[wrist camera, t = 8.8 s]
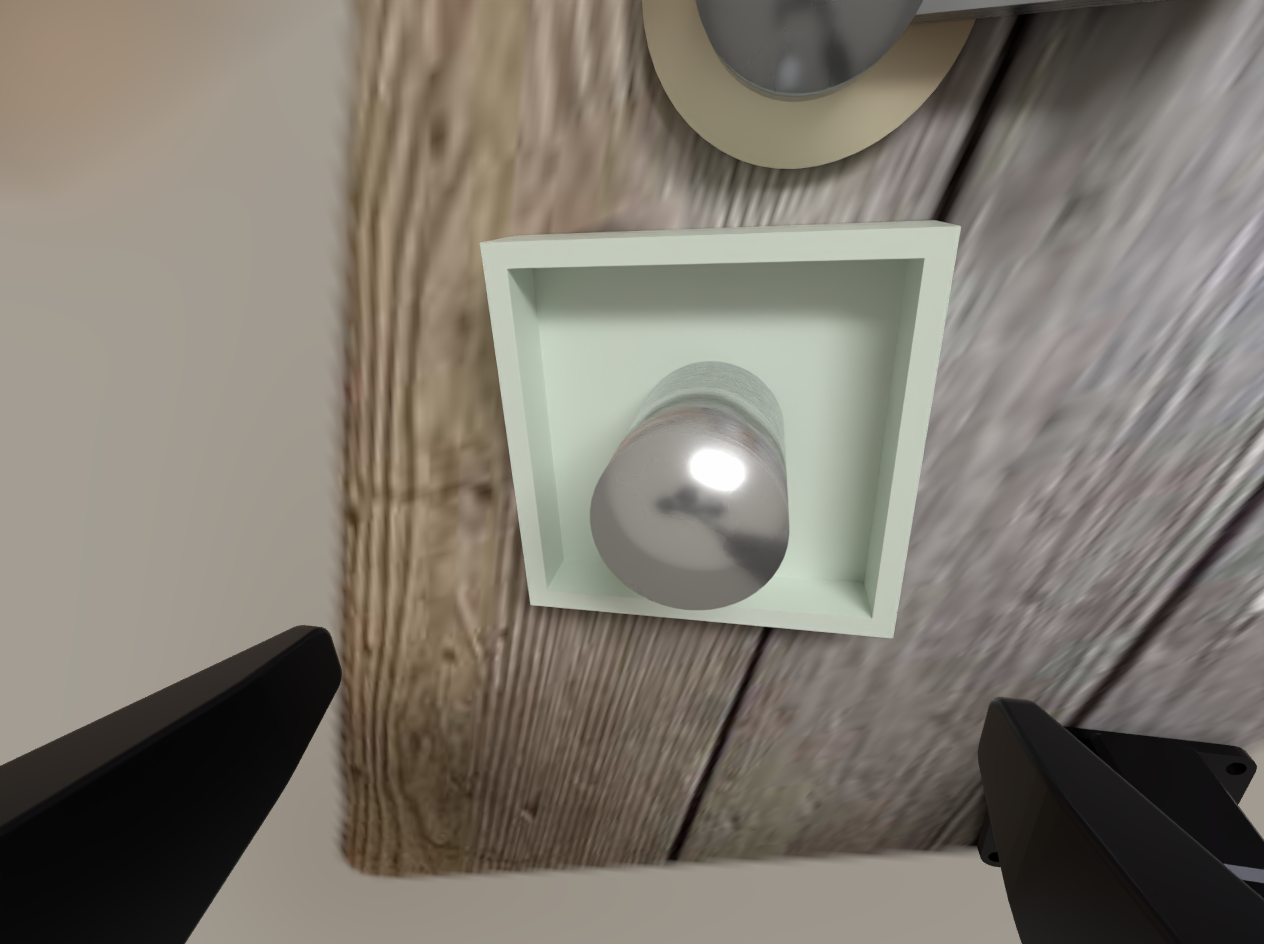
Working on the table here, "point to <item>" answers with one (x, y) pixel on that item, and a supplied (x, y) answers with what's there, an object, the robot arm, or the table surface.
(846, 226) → the tray
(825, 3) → the crank
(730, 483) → the pin
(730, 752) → the table surface
